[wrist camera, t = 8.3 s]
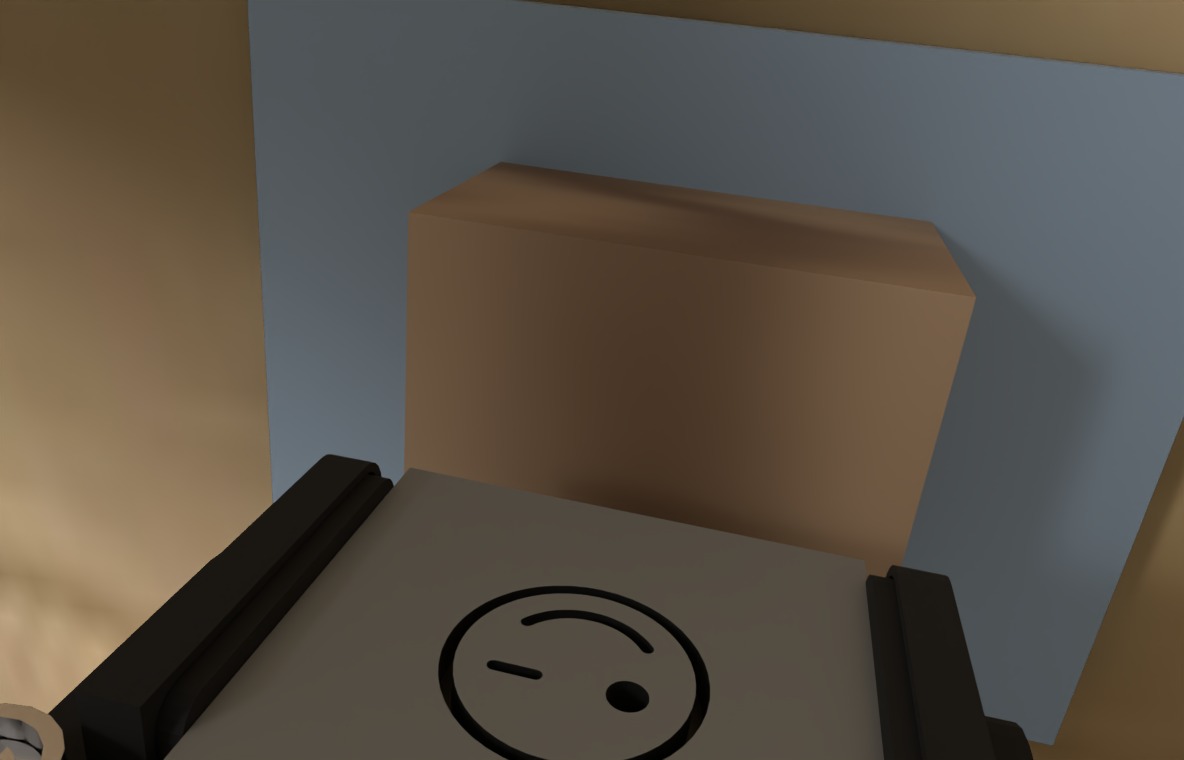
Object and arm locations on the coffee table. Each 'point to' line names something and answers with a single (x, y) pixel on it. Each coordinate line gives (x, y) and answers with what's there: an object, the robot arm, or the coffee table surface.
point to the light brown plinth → (683, 354)
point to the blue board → (785, 173)
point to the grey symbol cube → (554, 642)
